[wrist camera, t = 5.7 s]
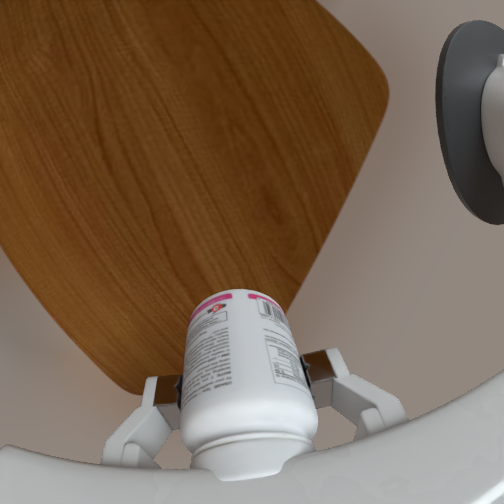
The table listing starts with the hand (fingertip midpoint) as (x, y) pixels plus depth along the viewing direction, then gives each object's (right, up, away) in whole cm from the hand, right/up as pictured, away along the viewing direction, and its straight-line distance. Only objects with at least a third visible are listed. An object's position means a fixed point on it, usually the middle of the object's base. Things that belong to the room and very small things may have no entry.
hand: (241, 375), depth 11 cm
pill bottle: (0, +1, +3) cm, 3 cm away
